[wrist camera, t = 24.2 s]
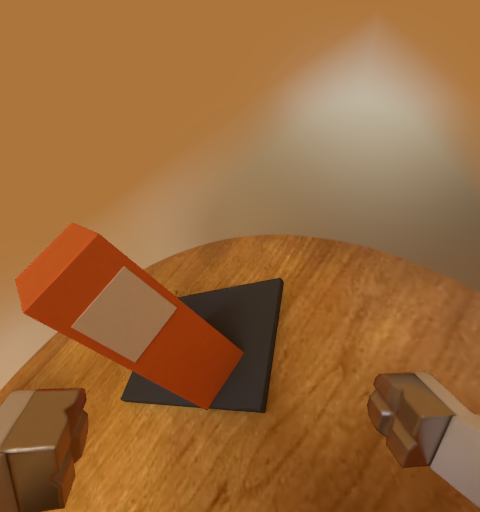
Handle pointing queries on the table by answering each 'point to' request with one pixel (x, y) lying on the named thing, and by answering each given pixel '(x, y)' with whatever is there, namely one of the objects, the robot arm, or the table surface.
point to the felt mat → (241, 335)
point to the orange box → (125, 315)
